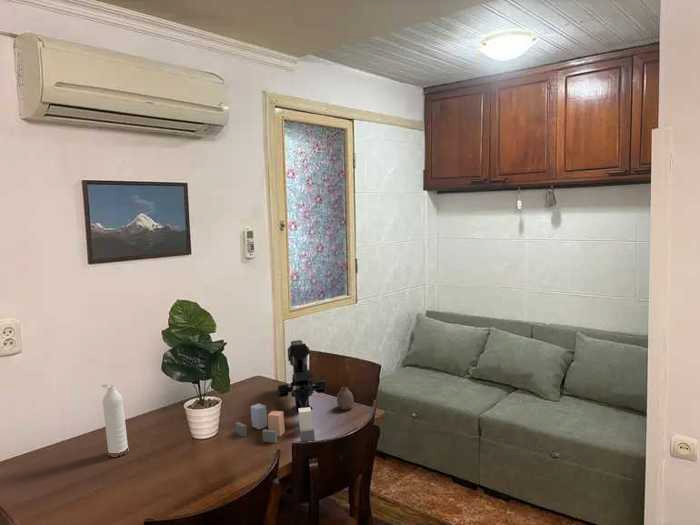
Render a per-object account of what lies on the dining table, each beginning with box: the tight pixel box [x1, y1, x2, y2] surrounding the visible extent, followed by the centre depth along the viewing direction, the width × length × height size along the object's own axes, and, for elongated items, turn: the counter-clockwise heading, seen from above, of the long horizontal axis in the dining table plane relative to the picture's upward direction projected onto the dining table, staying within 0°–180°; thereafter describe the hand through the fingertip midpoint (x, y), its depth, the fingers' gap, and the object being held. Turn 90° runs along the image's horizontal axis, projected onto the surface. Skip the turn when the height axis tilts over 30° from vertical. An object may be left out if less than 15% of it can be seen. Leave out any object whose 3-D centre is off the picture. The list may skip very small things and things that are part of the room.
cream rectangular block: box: [298, 407, 313, 431], centre depth 199 cm, size 4×4×8 cm
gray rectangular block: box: [250, 403, 268, 430], centre depth 204 cm, size 4×4×8 cm
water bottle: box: [101, 382, 129, 453], centre depth 188 cm, size 9×6×25 cm
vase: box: [336, 386, 354, 411], centre depth 218 cm, size 7×7×9 cm
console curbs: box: [234, 421, 316, 444], centre depth 194 cm, size 32×6×4 cm, turn 73°
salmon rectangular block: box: [267, 410, 286, 438], centre depth 197 cm, size 4×4×8 cm
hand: (304, 409), depth 203 cm, fingers closed
